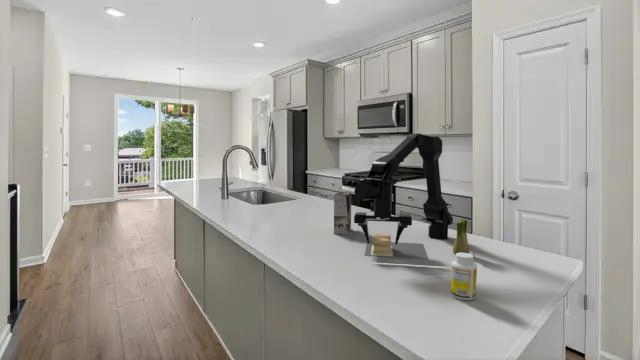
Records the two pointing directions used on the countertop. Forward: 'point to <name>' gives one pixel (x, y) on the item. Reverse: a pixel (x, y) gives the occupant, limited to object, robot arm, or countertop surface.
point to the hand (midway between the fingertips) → (382, 243)
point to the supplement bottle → (463, 277)
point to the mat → (400, 250)
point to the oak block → (382, 244)
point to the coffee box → (342, 213)
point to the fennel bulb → (461, 238)
